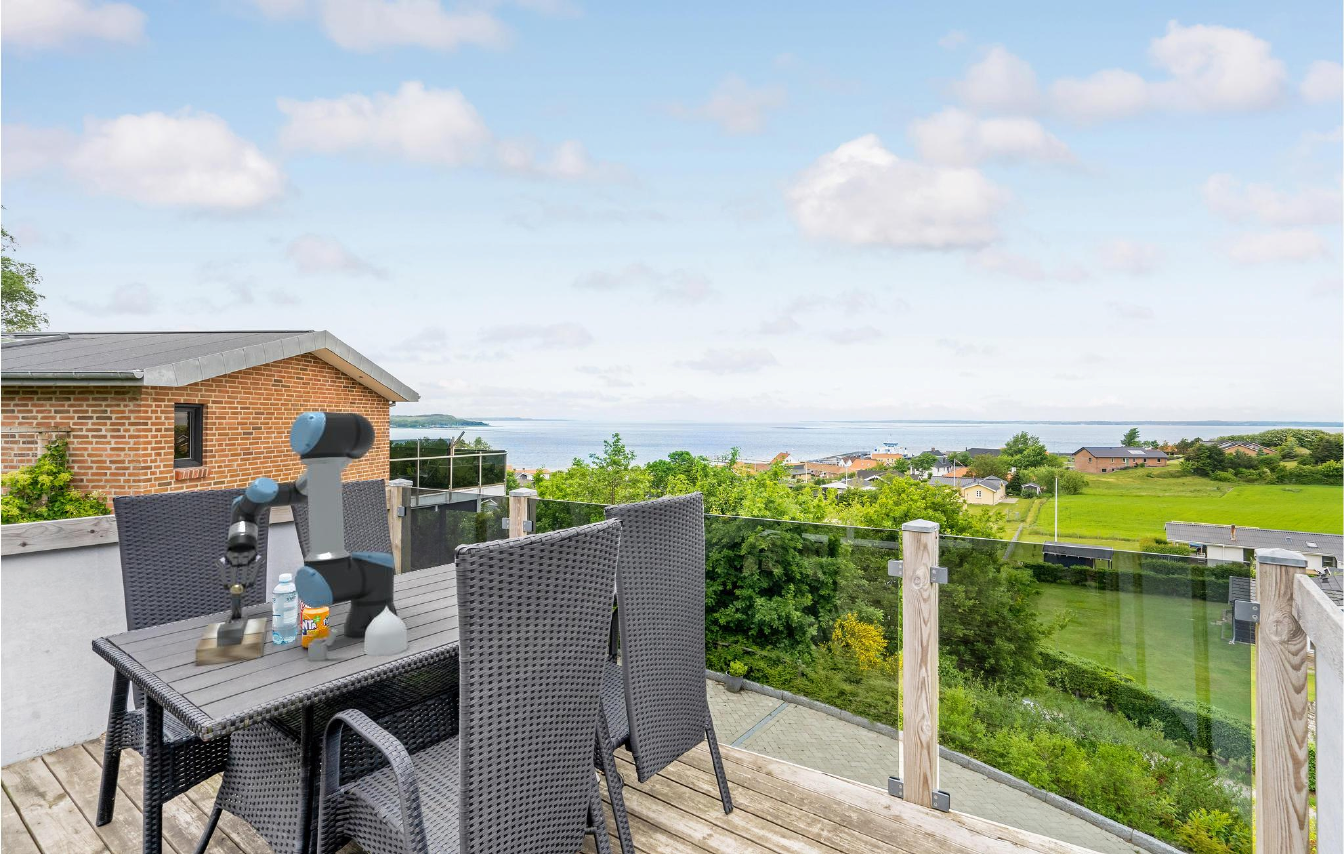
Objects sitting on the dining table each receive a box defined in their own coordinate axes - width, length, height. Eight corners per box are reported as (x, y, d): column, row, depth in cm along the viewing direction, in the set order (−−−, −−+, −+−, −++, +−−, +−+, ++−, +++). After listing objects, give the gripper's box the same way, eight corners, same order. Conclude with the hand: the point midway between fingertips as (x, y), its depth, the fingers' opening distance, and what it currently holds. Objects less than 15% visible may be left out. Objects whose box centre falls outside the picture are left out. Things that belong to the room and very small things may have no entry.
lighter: (307, 660, 170) (308, 629, 170) (311, 658, 172) (311, 627, 172) (335, 660, 170) (336, 629, 171) (338, 658, 172) (339, 627, 172)
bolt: (243, 622, 187) (243, 582, 188) (239, 634, 177) (239, 591, 177) (230, 623, 186) (231, 583, 186) (225, 635, 176) (226, 592, 176)
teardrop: (379, 658, 172) (380, 612, 173) (354, 650, 178) (355, 606, 178) (416, 647, 182) (416, 603, 182) (391, 640, 188) (392, 598, 188)
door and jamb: (266, 631, 194) (267, 603, 194) (260, 657, 172) (261, 626, 172) (208, 637, 187) (209, 609, 187) (195, 665, 165) (195, 633, 165)
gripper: (268, 546, 207) (263, 612, 192) (217, 549, 201) (209, 618, 186) (267, 531, 203) (262, 598, 188) (215, 534, 196) (206, 603, 182)
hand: (236, 608), depth 187 cm, fingers closed
